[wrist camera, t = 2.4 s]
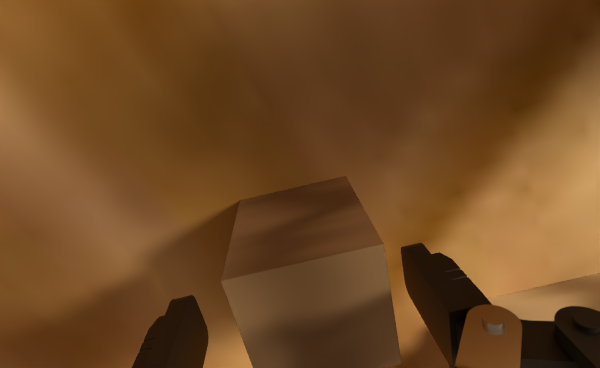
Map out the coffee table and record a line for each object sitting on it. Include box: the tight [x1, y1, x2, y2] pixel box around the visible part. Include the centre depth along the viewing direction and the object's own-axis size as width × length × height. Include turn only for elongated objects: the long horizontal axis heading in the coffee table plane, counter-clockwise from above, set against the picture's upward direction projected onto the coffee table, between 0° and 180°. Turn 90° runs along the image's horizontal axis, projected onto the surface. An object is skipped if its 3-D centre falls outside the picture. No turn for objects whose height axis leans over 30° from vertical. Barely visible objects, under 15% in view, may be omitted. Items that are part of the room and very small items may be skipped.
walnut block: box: [221, 176, 402, 368], centre depth 14 cm, size 5×5×6 cm
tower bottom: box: [488, 273, 600, 321], centre depth 19 cm, size 9×9×4 cm
